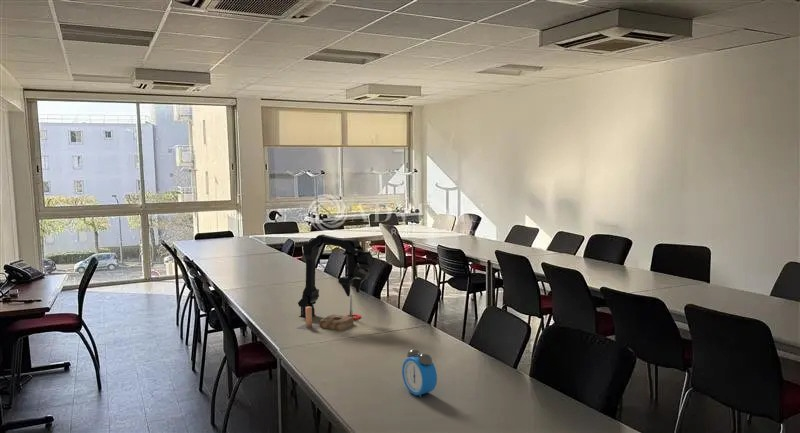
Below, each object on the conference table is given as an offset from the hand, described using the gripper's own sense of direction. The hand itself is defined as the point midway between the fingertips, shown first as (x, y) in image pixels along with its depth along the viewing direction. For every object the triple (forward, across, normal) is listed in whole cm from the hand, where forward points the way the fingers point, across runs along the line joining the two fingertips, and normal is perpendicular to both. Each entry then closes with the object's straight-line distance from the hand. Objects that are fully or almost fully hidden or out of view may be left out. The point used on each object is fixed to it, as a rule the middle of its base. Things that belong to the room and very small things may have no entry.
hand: (353, 294), depth 290 cm
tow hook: (+15, +8, +5) cm, 18 cm away
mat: (+15, -17, +15) cm, 27 cm away
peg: (+14, -17, +15) cm, 27 cm away
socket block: (+15, -9, +4) cm, 18 cm away
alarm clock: (+15, -67, -67) cm, 96 cm away
